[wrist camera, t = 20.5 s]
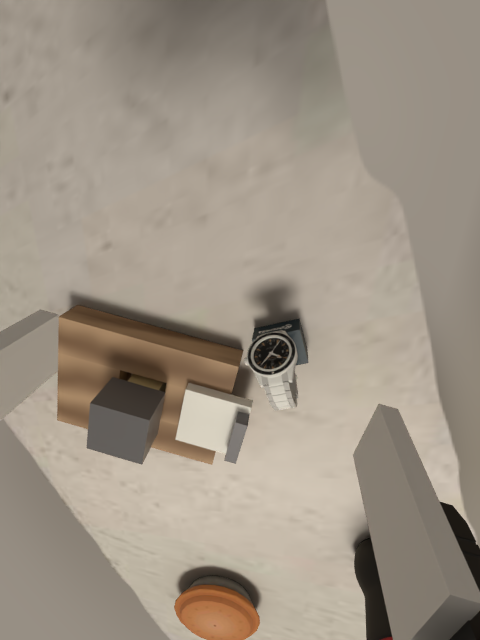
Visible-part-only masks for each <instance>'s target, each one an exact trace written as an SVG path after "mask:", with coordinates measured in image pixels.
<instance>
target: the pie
mask: <svg viewBox="0 0 480 640" xmlns="http://www.w3.org/2000/svg"><path fill="white" fill-rule="evenodd" d="M174 608H175V611H176V615H177V616H178V618H179V620H180V621H181V622H182V623H183V624H184V625H185V626H186V627H187V628H188V629H189V630H190V631H191V632H192V633H194V634H196V635H198V636H199V637H201V638H204V639H207V640H244V639H246V638H248V637H249V636H251V635H252V634H253V633H255V632H256V631H257V629H258V626H259V624H260V620H259V615H258V613H257V611H256V609H255V608H254V606H253V604H252V602H251V599H250V597H249V595H248V593H247V591H246V590H245V589H244V588H243V587H242V586H241V585H240V584H238V583H237V582H235V581H233V580H231V579H228V578H225V577H220V576H206V577H201V578H199V579H197V580H195V581H194V582H193V584H192V585H191V586H190V587H189V588H188V589H187V590H186V591H184V592H183V593H182V594H181V595H180V596H179V597H178V598H177V600H176V602H175V606H174Z"/></svg>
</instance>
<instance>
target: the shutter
mask: <svg viewBox="0 0 480 640" xmlns="http://www.w3.org/2000/svg"><path fill="white" fill-rule="evenodd" d="M252 402H253V401H252V400H249V399H245V398H242V397H238V396H234V395H231V394H227V393H224V392H220V391H217V390H213V389H210V388H206V387H202V386H199V385H195V384H192V383H188V386H187V388H186V390H185V395H184V400H183V405H182V410H181V415H180V419H179V424H178V429H177V434H176V439H175V440H178V441H182V442H185V443H189V444H192V445H196V446H199V447H203V448H206V449H210V450H213V451H217V452H220V453H224V454H226V455H225V460H224V461H228V462H231V463H235V464H236V461H237V458H238V454H239V451H240V448H241V445H242V442H243V439H244V435H245V432H246V429H247V426H248V420H249V414H250V411H251V408H252Z"/></svg>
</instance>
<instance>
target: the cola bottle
mask: <svg viewBox="0 0 480 640" xmlns="http://www.w3.org/2000/svg"><path fill="white" fill-rule="evenodd" d="M354 567H355V574H356V578H357V580H358V583H359V585H360V587H361V589H362V591H363V593H364V596H365V608H366V637H367V640H393V637H392V633H391V628H390V624H389V619H388V614H387V610H386V605H385V601H384V596H383V591H382V587H381V582H380V577H379V573H378V568H377V564H376V559H375V554H374V550H373V545H372V541H371V538H370V539H367V540H365V541H363V542H362V543H361V544H360V545H359V546H358V548H357V550H356V553H355V561H354Z"/></svg>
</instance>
